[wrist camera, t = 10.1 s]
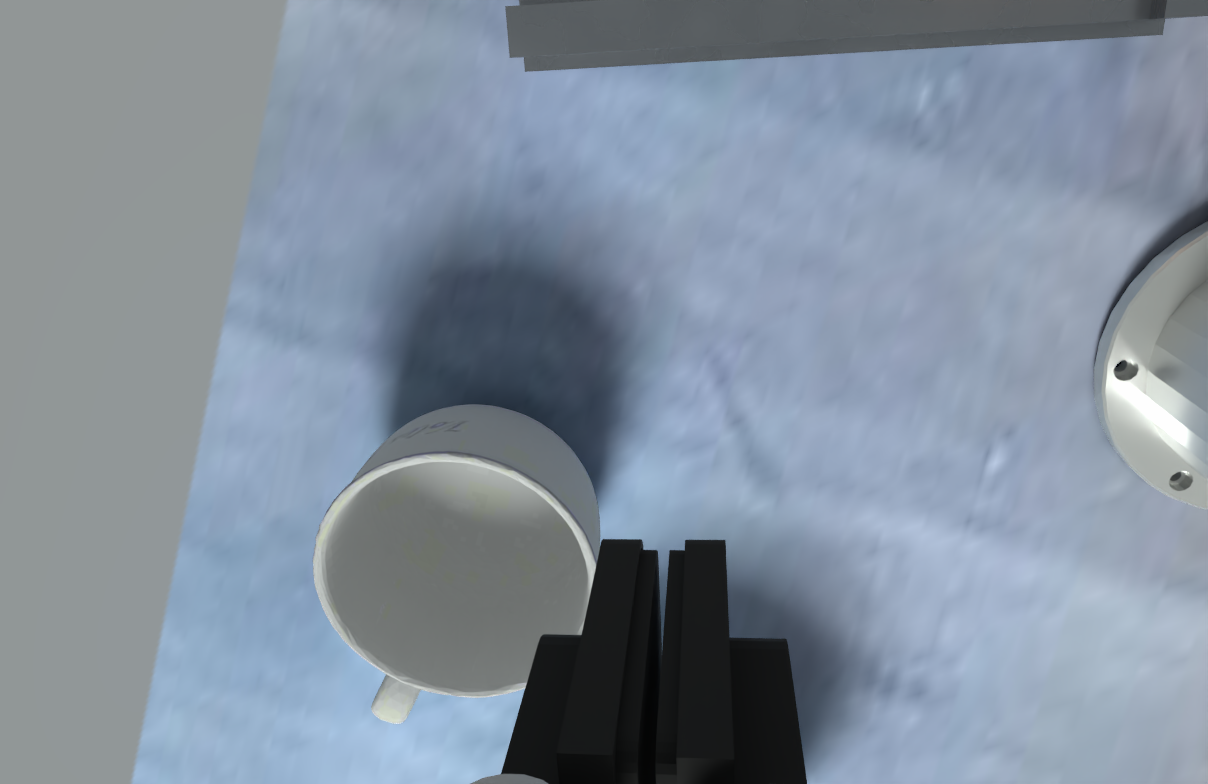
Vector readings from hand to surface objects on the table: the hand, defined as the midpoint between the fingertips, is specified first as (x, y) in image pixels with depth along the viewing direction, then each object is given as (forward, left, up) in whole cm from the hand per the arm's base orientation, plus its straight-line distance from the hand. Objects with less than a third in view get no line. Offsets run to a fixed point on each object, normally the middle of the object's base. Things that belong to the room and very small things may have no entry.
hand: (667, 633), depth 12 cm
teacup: (+10, +12, -25) cm, 30 cm away
